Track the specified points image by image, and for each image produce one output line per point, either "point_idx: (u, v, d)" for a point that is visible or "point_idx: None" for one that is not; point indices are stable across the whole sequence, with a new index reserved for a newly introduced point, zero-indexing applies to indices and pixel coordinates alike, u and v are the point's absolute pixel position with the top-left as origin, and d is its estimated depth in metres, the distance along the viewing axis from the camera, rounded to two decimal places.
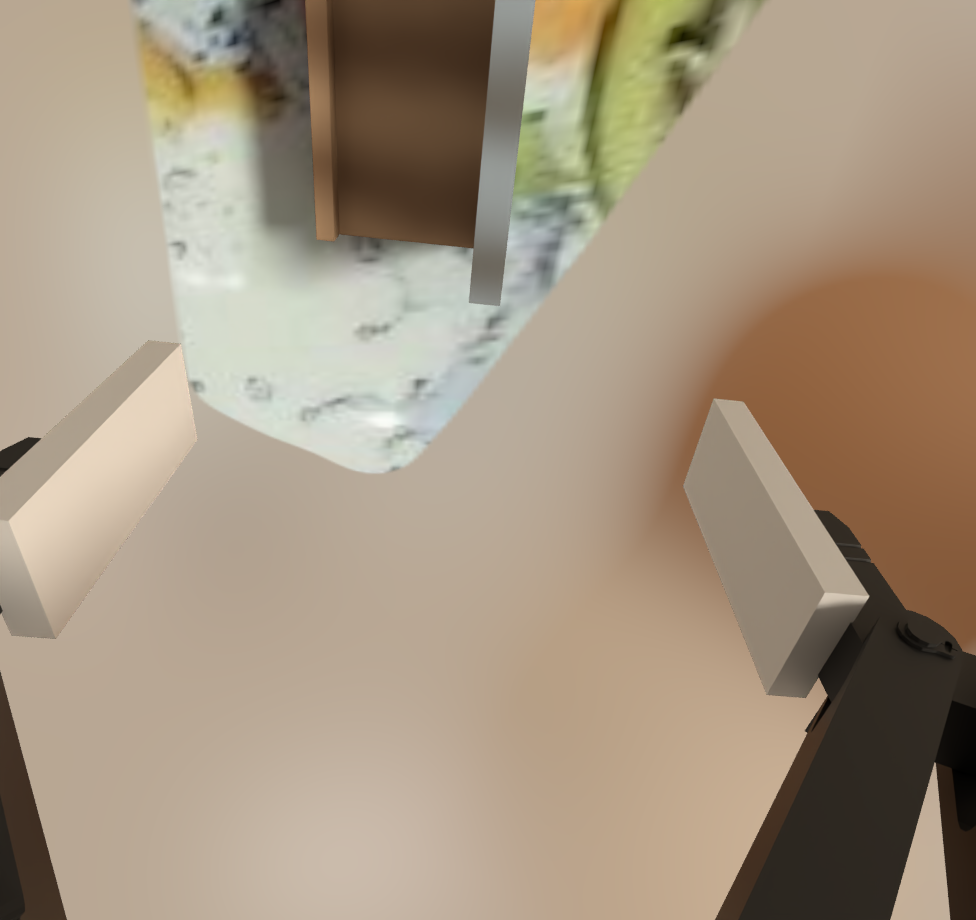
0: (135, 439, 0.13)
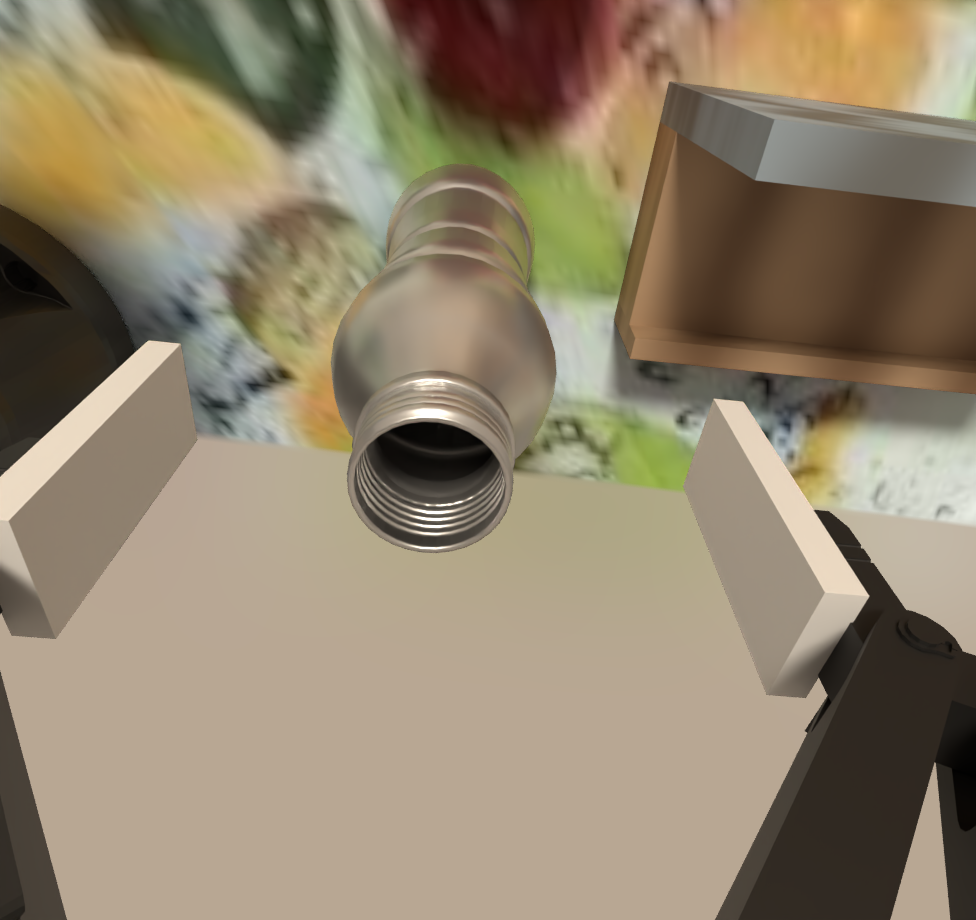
0: (135, 439, 0.13)
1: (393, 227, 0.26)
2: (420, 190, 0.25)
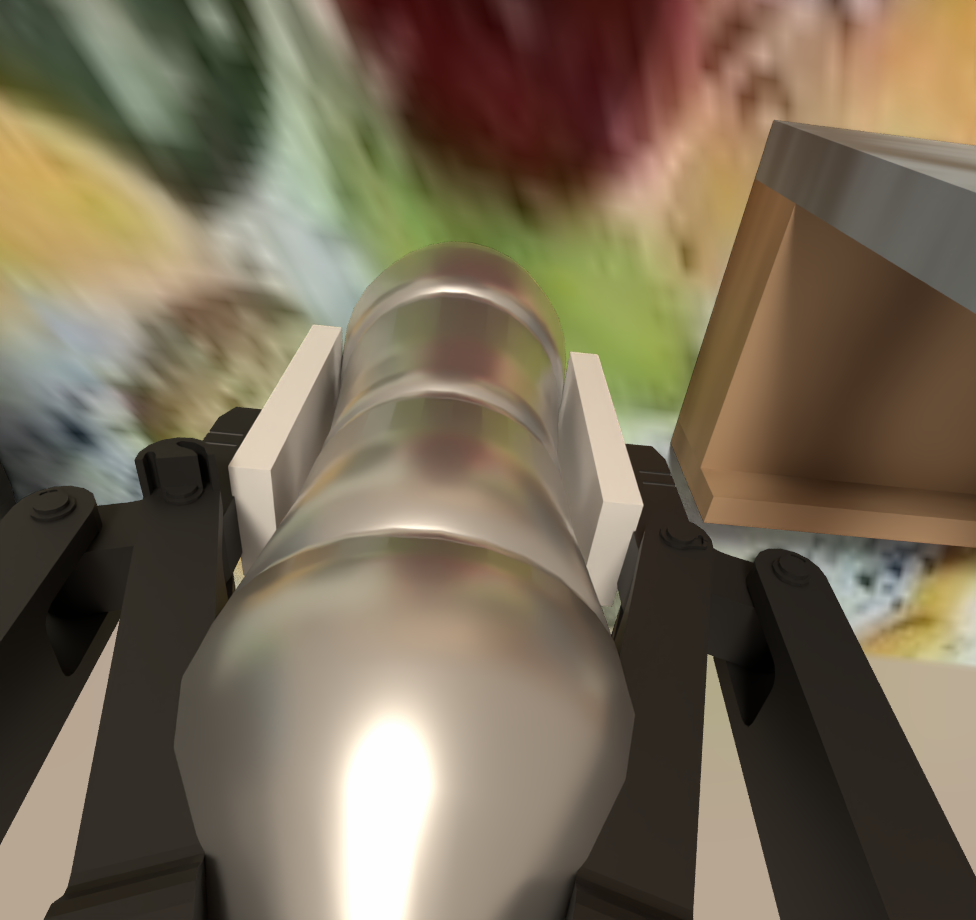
0: (320, 410, 0.15)
1: (349, 348, 0.17)
2: (390, 293, 0.16)
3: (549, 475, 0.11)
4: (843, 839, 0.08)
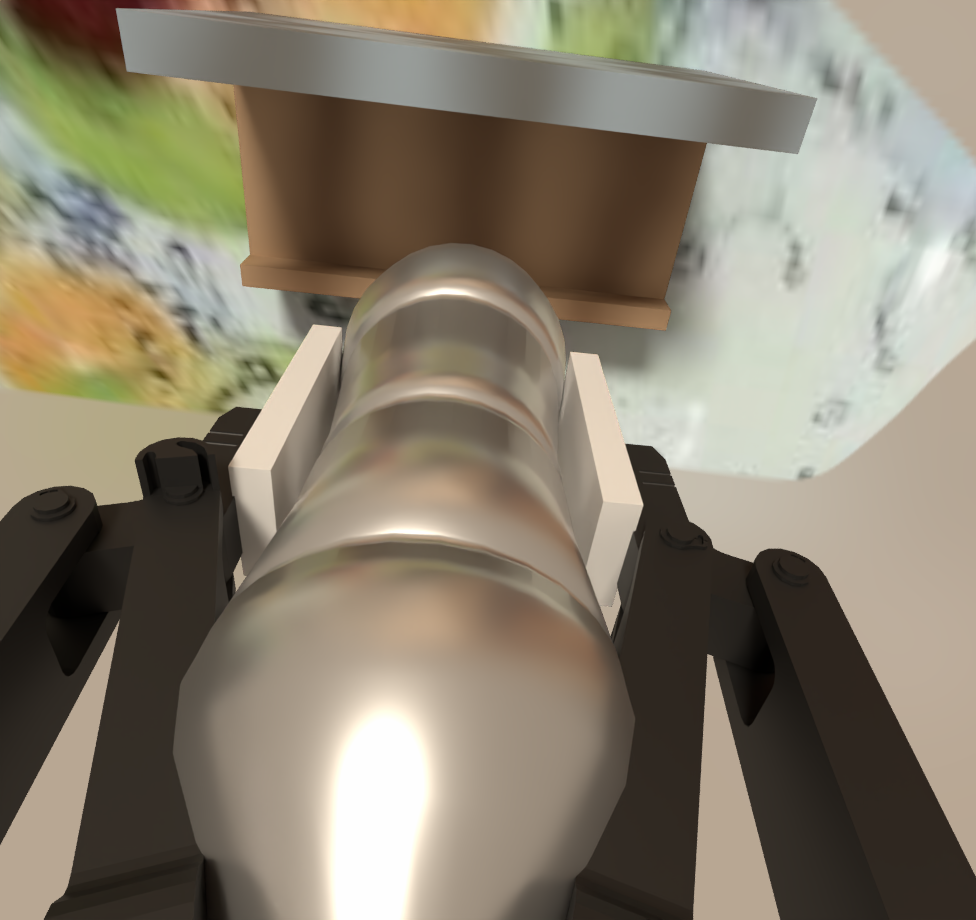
0: (320, 410, 0.15)
1: (348, 350, 0.16)
2: (390, 295, 0.16)
3: (549, 478, 0.11)
4: (843, 839, 0.08)
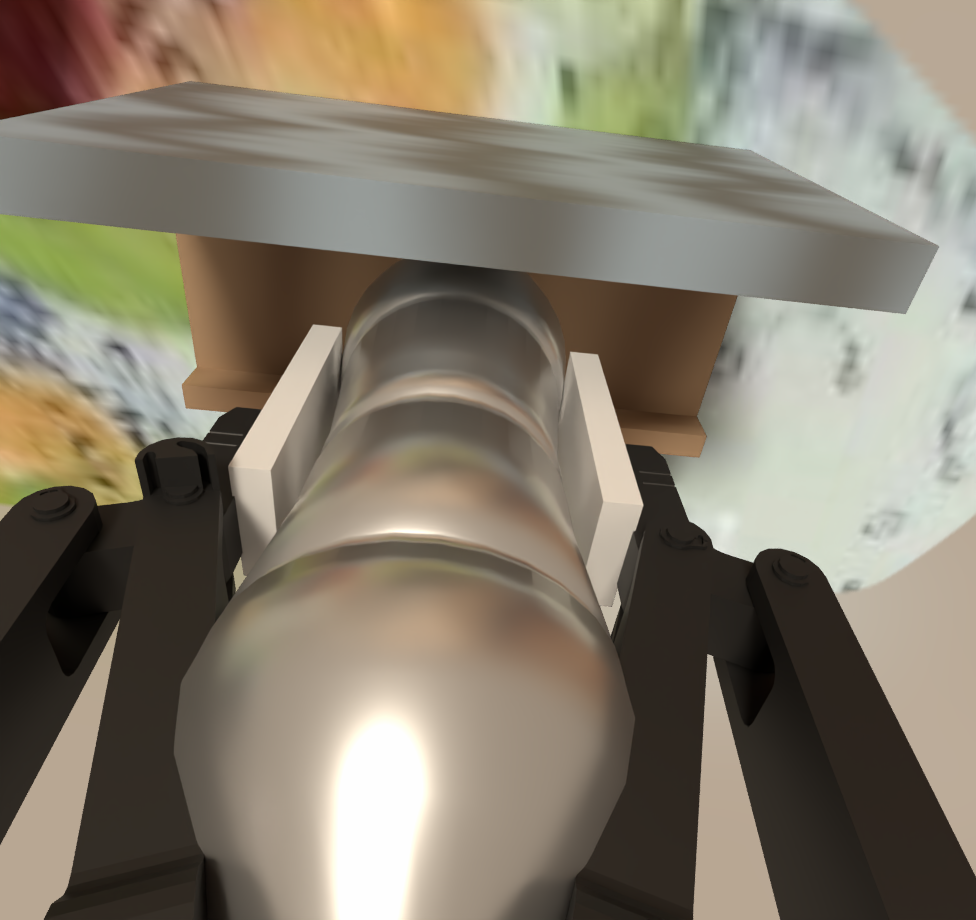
0: (320, 410, 0.15)
1: (348, 350, 0.17)
2: (390, 295, 0.16)
3: (549, 478, 0.11)
4: (842, 840, 0.08)
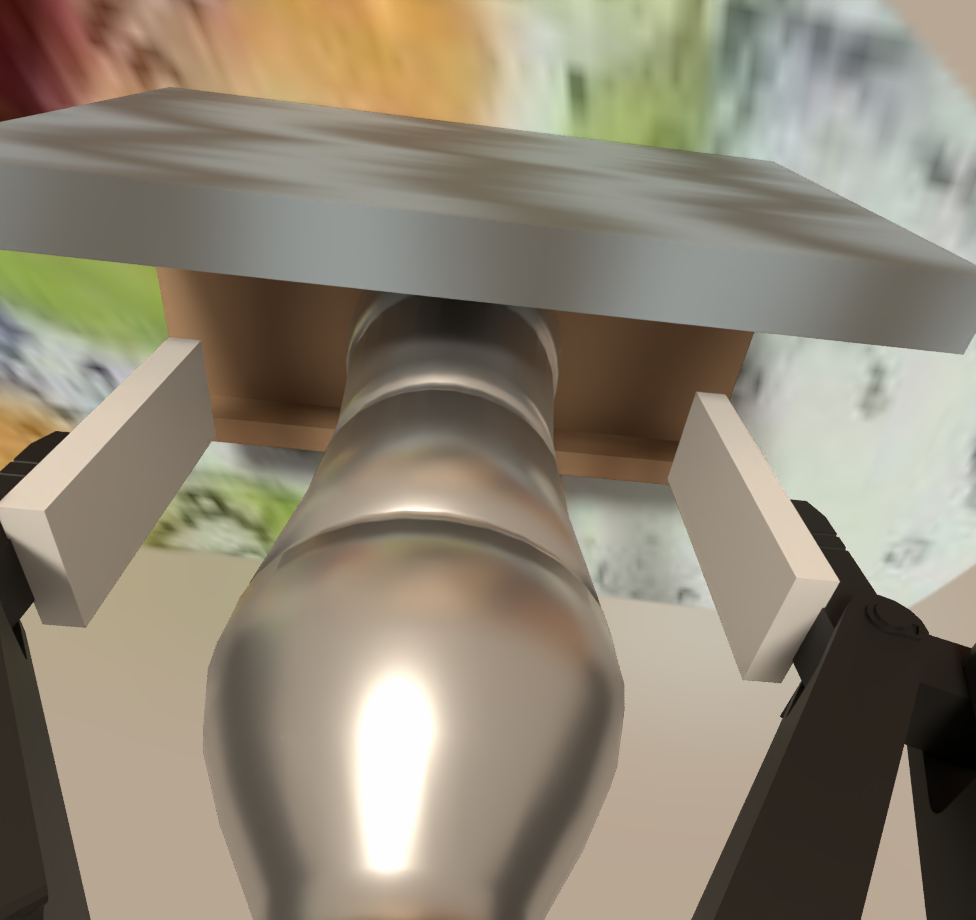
0: (159, 433, 0.14)
1: (354, 340, 0.17)
2: None
3: (545, 461, 0.12)
4: None
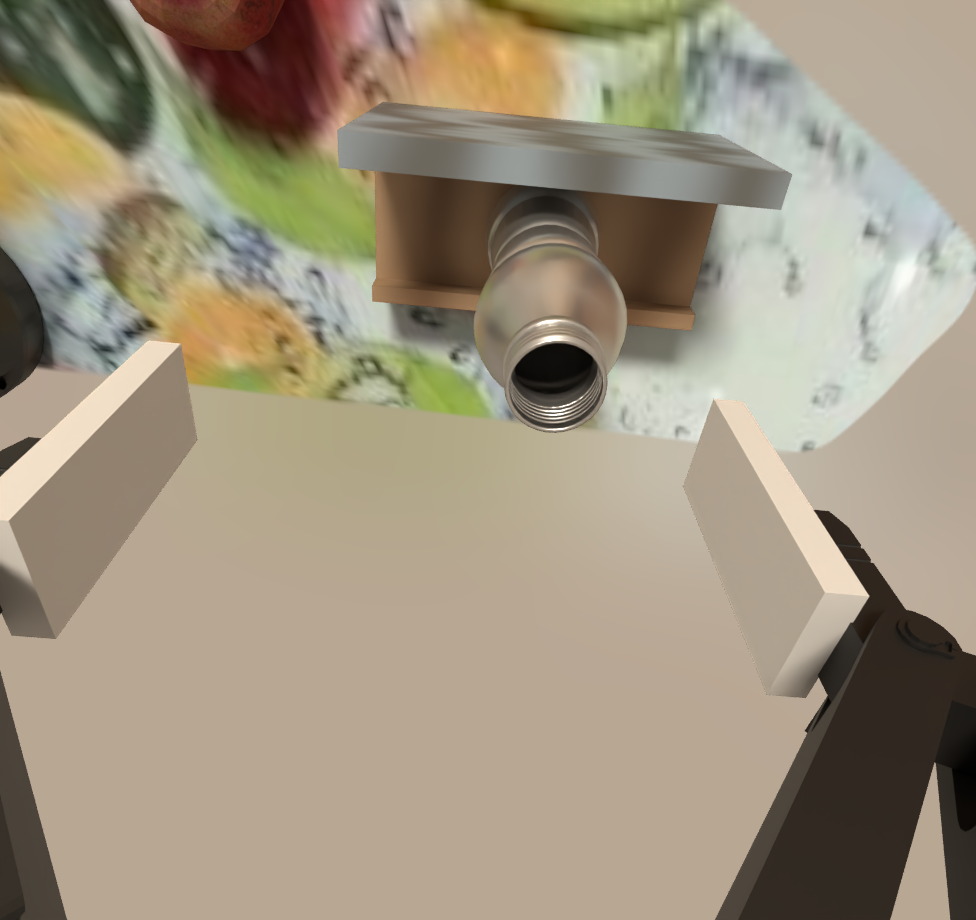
0: (135, 439, 0.13)
1: (495, 225, 0.34)
2: (516, 197, 0.34)
3: (595, 253, 0.29)
4: None
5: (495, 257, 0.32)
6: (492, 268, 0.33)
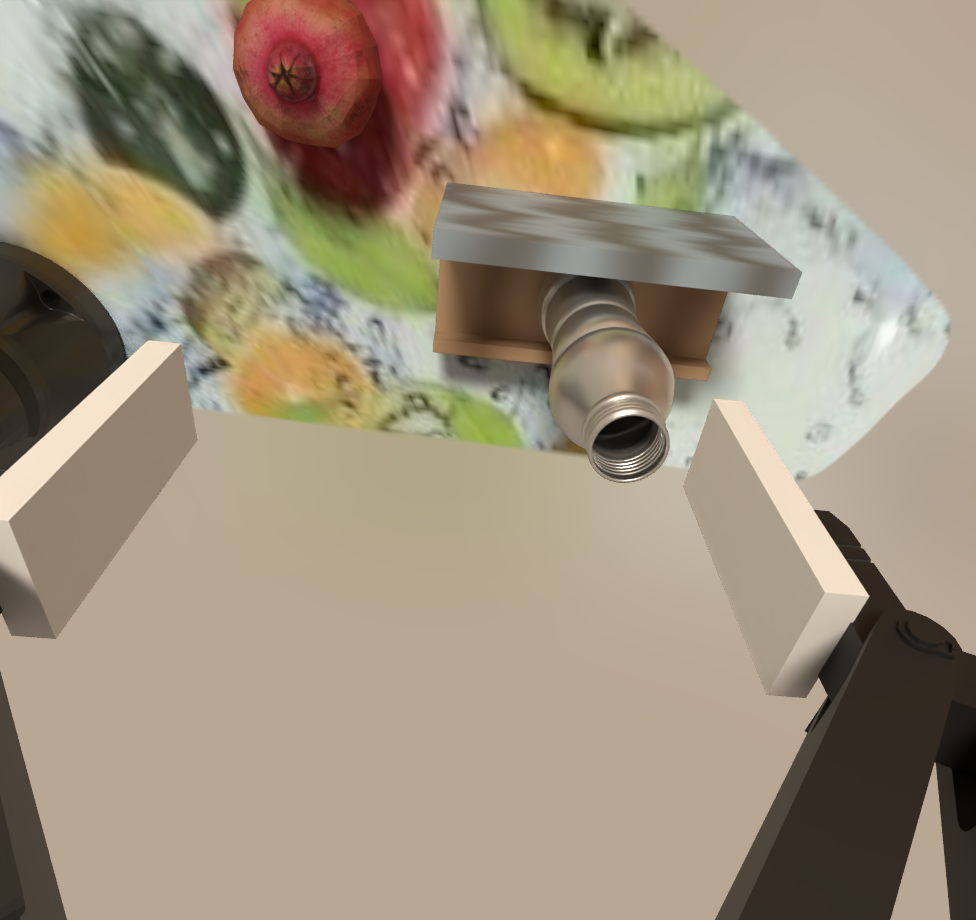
0: (135, 439, 0.13)
1: (549, 295, 0.40)
2: None
3: None
4: None
5: (554, 326, 0.38)
6: (549, 333, 0.39)
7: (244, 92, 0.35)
